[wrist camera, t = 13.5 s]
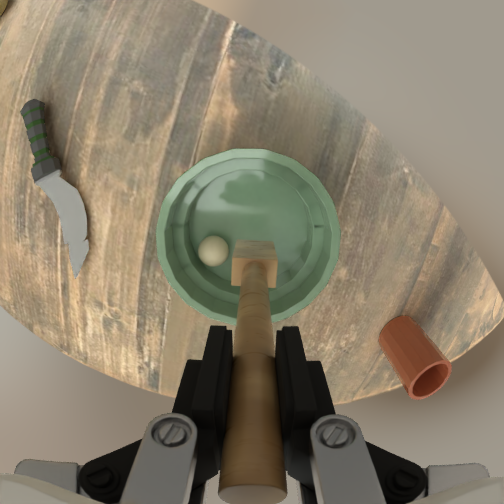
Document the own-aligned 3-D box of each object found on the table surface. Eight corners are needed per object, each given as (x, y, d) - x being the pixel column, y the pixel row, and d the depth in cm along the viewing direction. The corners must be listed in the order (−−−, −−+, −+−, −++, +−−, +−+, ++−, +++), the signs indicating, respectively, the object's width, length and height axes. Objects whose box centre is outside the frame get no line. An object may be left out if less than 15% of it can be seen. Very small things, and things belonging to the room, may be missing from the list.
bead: (238, 257, 29) (217, 276, 27) (220, 250, 31) (199, 267, 29) (229, 232, 27) (205, 251, 26) (210, 227, 29) (187, 244, 28)
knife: (106, 267, 28) (68, 285, 27) (108, 260, 32) (74, 276, 30) (49, 83, 22) (13, 102, 20) (56, 95, 25) (23, 112, 24)
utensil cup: (420, 313, 33) (458, 356, 24) (409, 348, 35) (440, 394, 26) (384, 317, 33) (418, 365, 24) (374, 353, 35) (401, 403, 25)
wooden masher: (273, 241, 24) (326, 477, 4) (271, 264, 24) (307, 508, 5) (236, 239, 24) (182, 473, 4) (235, 262, 24) (191, 505, 5)
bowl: (327, 153, 27) (345, 153, 22) (317, 296, 32) (329, 324, 26) (171, 152, 27) (151, 151, 21) (179, 295, 32) (165, 323, 26)
